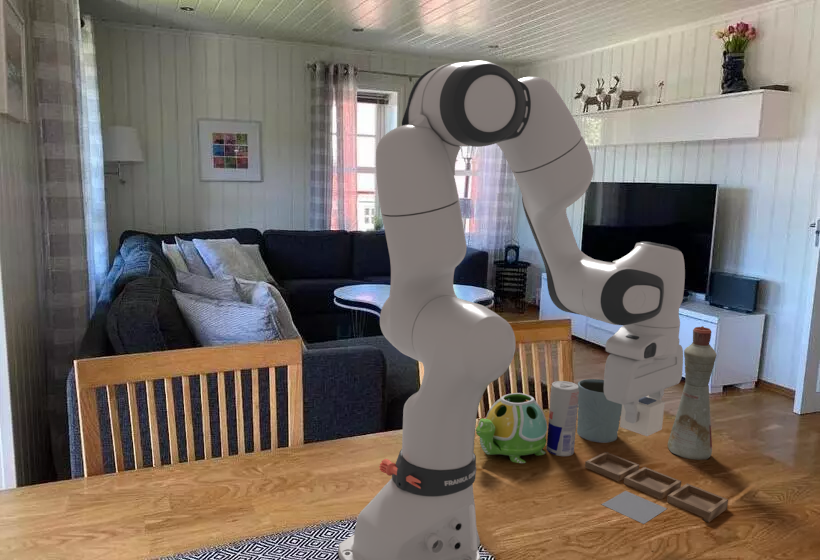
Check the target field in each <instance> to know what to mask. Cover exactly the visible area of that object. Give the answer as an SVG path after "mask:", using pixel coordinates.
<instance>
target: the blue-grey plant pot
mask: <svg viewBox="0 0 820 560" xmlns="http://www.w3.org/2000/svg"><path fill="white" fill-rule="evenodd" d="M577 385H578V386H579V387H578V389H579V395H578V407H577V420H576V430H577V431H576V433H577V435H578V436H579V437H581V438H582V439H585V440H587V441H590V442H595V443H604V444H605V443H611V442H612V443H613V442H615V441H617V439H618V431H619V429H620V420H621V410H622V404H618V403H615V402H612V401H609V400H607V399H606V397H605V395H604V379H598V378H587V379H586V378H585V379H582V380H581V379H580V381H578V382H577Z"/></svg>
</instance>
